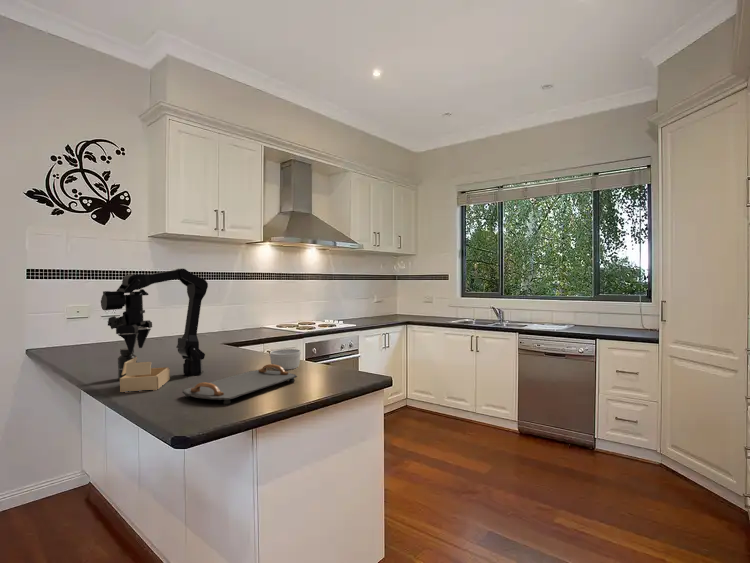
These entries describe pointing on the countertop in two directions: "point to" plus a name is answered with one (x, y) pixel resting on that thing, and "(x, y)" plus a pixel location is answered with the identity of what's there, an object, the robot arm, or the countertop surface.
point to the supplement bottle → (124, 360)
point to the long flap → (128, 362)
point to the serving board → (239, 384)
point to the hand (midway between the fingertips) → (135, 350)
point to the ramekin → (286, 358)
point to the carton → (145, 380)
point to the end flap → (138, 368)
